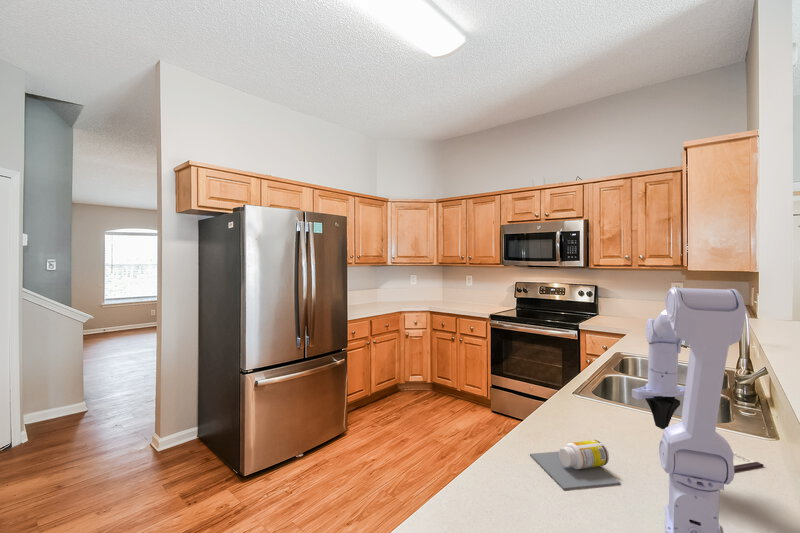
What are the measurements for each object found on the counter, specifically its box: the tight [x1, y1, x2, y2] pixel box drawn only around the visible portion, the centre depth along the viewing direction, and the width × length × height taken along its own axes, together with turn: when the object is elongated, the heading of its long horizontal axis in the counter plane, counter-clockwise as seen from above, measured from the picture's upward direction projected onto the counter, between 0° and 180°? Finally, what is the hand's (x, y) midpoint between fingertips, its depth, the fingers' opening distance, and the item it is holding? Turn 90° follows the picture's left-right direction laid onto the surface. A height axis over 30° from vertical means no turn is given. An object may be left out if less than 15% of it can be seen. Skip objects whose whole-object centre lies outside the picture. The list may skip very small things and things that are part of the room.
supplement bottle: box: [558, 439, 610, 469], centre depth 87 cm, size 6×6×10 cm
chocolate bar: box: [732, 450, 764, 473], centre depth 90 cm, size 9×1×18 cm
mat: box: [529, 451, 621, 491], centre depth 86 cm, size 14×14×1 cm
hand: (661, 427), depth 88 cm, fingers closed
